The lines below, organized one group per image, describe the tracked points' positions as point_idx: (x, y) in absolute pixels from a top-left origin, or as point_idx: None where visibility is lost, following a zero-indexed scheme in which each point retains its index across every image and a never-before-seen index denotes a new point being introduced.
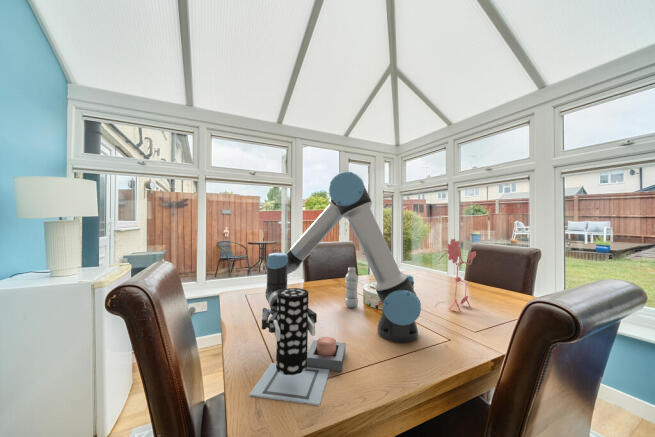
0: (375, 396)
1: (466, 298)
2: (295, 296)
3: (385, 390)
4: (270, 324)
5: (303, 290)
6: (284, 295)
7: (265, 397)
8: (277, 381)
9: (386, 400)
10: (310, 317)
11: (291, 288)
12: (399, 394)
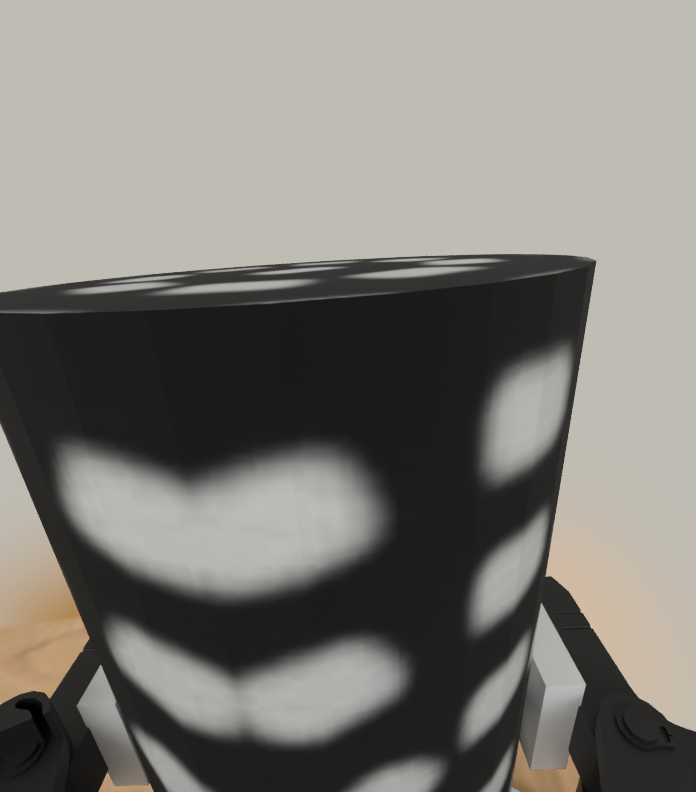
0: (84, 644)
1: None
2: (322, 261)
3: (19, 662)
4: (595, 649)
5: (68, 287)
6: (437, 257)
7: (512, 789)
8: None
9: (77, 618)
10: (45, 729)
11: (180, 305)
12: (12, 629)
